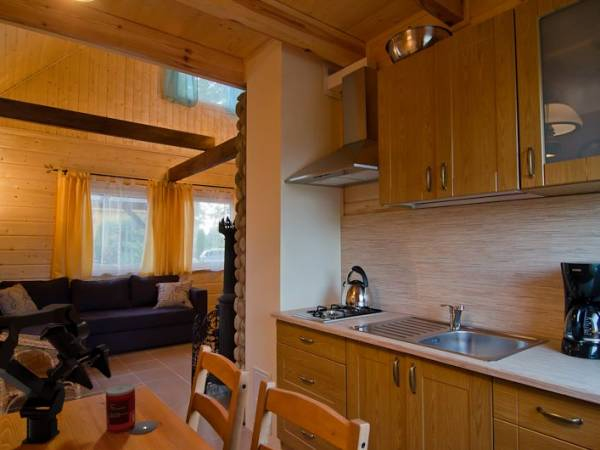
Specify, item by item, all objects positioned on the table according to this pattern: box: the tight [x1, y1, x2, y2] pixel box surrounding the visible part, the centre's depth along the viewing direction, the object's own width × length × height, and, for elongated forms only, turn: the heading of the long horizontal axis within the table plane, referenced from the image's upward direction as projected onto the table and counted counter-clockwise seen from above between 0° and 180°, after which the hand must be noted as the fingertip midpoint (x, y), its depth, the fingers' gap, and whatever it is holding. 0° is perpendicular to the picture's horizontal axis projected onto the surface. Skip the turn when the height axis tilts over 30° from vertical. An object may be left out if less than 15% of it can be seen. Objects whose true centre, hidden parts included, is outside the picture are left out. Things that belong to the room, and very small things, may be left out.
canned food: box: [105, 382, 137, 434], centre depth 110 cm, size 8×8×11 cm
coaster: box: [127, 420, 158, 435], centre depth 110 cm, size 8×8×1 cm
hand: (101, 382), depth 111 cm, fingers open, 8 cm apart
